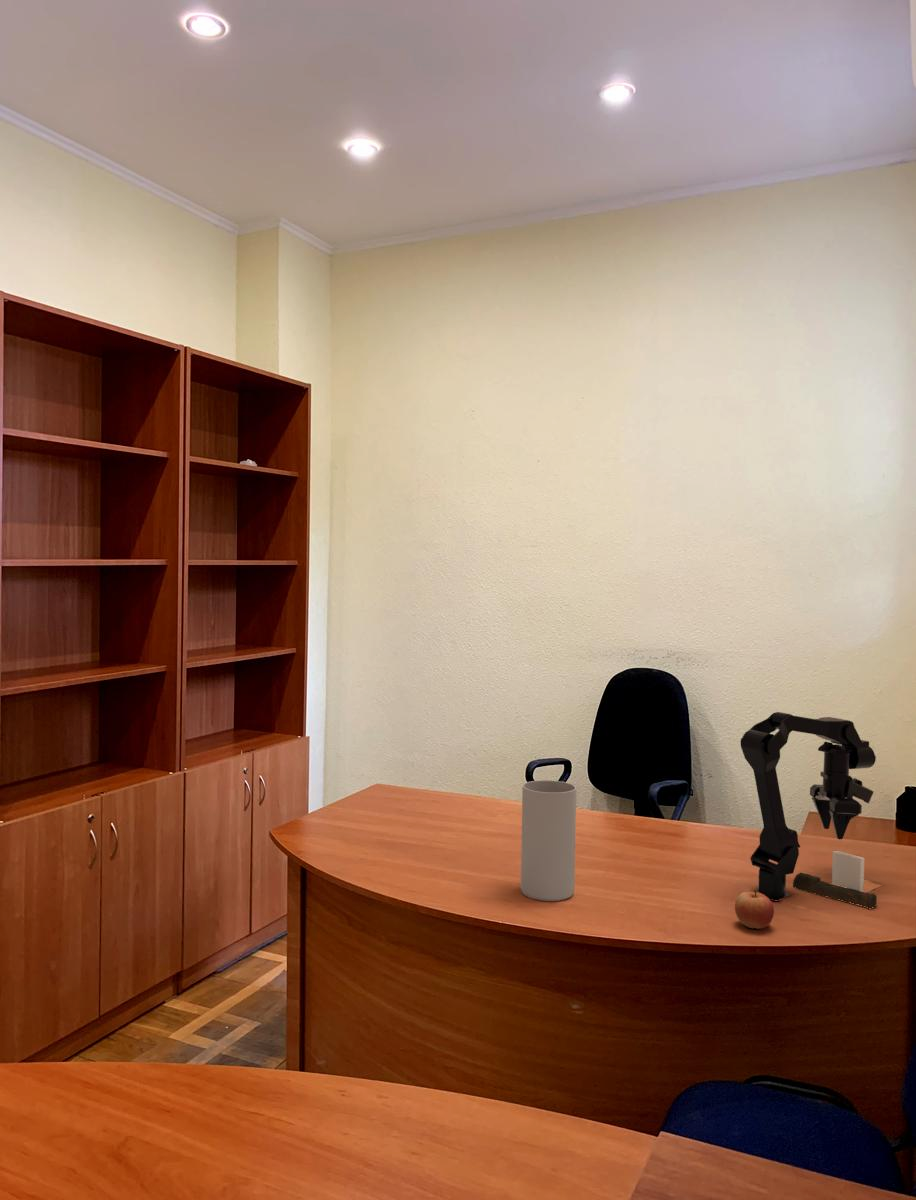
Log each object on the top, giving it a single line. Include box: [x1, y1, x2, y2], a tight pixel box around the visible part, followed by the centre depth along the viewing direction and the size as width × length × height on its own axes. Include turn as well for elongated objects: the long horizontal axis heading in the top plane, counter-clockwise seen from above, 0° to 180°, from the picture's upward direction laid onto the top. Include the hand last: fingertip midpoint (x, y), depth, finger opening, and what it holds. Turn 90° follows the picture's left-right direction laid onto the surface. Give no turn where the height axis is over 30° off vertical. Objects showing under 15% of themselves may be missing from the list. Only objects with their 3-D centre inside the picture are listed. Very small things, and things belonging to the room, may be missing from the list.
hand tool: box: [792, 872, 878, 908], centre depth 210 cm, size 19×4×5 cm, turn 42°
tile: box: [831, 850, 865, 891], centre depth 216 cm, size 2×7×8 cm, turn 39°
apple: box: [734, 888, 775, 930], centre depth 193 cm, size 8×8×8 cm
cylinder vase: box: [520, 779, 577, 902], centre depth 211 cm, size 12×12×25 cm
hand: (833, 833), depth 220 cm, fingers open, 9 cm apart
